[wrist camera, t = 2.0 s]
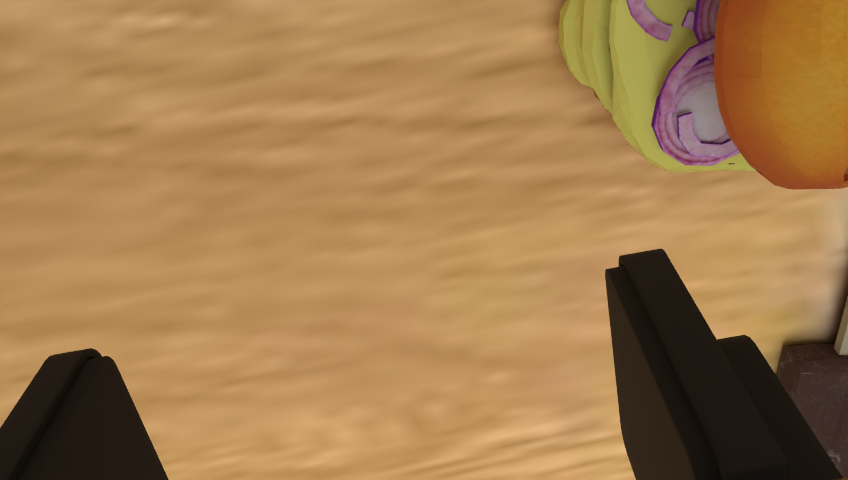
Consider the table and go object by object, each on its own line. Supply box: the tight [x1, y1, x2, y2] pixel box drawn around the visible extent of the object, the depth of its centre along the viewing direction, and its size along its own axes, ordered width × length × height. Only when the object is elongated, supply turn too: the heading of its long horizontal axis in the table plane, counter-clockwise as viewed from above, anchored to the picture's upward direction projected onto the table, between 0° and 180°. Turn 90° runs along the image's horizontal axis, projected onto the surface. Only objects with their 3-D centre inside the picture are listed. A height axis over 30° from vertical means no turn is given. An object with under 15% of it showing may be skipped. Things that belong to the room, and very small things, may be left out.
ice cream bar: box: [777, 297, 848, 478], centre depth 33 cm, size 5×2×15 cm
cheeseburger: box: [558, 0, 848, 189], centre depth 22 cm, size 10×11×10 cm
